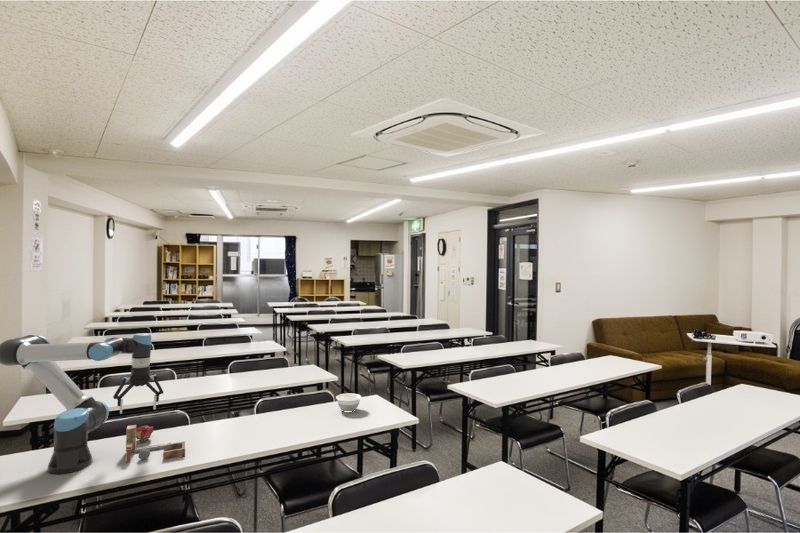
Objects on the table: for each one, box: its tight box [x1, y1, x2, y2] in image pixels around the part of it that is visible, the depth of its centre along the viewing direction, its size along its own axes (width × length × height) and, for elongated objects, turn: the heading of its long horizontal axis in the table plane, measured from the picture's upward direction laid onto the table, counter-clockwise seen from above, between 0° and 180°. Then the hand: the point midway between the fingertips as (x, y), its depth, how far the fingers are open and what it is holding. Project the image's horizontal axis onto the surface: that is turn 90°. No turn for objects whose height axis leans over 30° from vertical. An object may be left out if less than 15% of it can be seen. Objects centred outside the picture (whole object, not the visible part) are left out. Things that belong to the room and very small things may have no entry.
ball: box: [138, 449, 151, 461], centre depth 189 cm, size 4×4×4 cm
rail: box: [131, 442, 172, 455], centre depth 199 cm, size 18×2×2 cm, turn 118°
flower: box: [136, 424, 154, 444], centre depth 209 cm, size 10×9×8 cm
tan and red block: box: [125, 424, 137, 463], centre depth 191 cm, size 4×14×12 cm, turn 28°
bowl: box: [335, 392, 362, 411], centre depth 260 cm, size 16×16×9 cm
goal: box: [162, 440, 186, 461], centre depth 194 cm, size 9×10×4 cm
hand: (138, 410), depth 198 cm, fingers open, 13 cm apart
